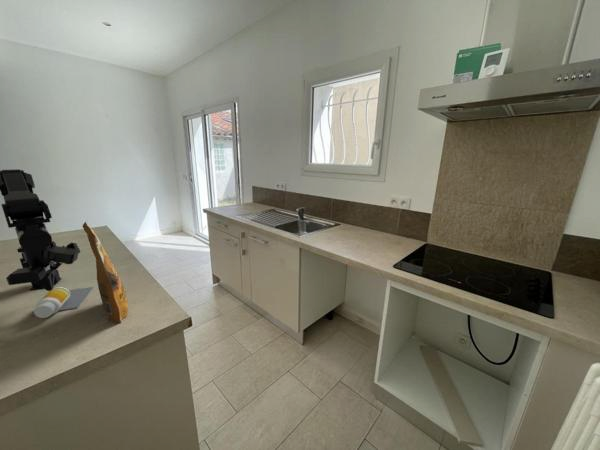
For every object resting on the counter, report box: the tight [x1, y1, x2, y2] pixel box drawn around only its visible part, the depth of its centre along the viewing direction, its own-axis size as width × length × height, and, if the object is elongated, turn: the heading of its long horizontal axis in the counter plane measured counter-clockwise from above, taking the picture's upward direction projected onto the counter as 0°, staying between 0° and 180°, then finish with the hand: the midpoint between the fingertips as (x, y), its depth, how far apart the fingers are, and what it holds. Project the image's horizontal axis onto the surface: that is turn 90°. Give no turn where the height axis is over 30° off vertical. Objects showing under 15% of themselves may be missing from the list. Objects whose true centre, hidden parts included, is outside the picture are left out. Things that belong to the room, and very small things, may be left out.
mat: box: [30, 286, 94, 317], centre depth 80 cm, size 11×13×1 cm
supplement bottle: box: [33, 286, 70, 319], centre depth 74 cm, size 5×5×10 cm
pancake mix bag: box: [82, 221, 129, 323], centre depth 72 cm, size 7×19×28 cm, turn 38°
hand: (50, 290), depth 73 cm, fingers closed
